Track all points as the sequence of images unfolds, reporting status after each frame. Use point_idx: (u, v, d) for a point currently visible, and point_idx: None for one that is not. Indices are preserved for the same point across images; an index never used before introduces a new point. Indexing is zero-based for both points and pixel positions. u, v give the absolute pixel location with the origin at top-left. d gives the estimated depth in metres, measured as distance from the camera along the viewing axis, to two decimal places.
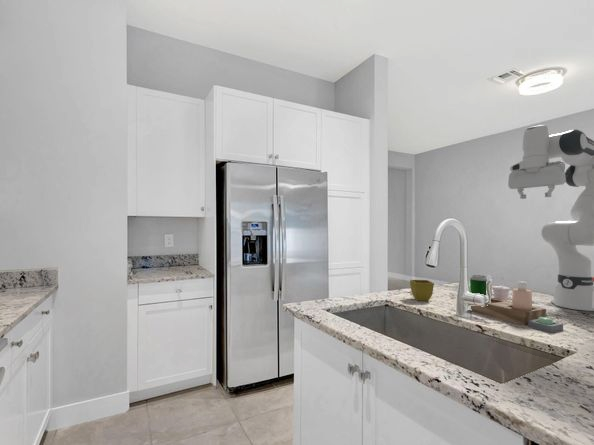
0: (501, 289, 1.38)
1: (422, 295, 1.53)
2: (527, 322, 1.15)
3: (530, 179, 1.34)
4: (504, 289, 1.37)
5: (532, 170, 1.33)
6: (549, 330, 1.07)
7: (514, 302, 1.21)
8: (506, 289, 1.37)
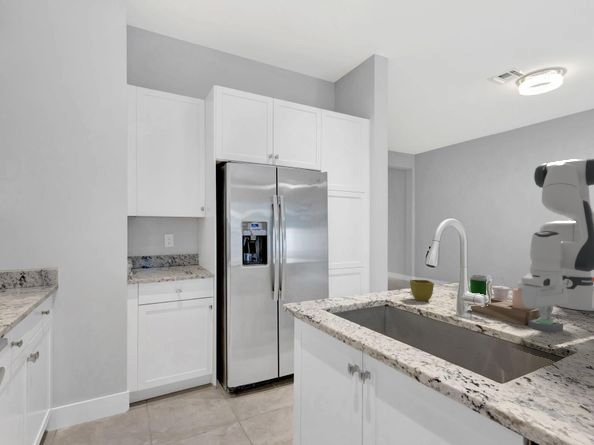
0: (501, 289, 1.38)
1: (422, 295, 1.53)
2: (527, 322, 1.15)
3: (550, 298, 1.09)
4: (504, 289, 1.37)
5: (557, 288, 1.09)
6: (549, 330, 1.07)
7: (514, 302, 1.21)
8: (506, 289, 1.37)
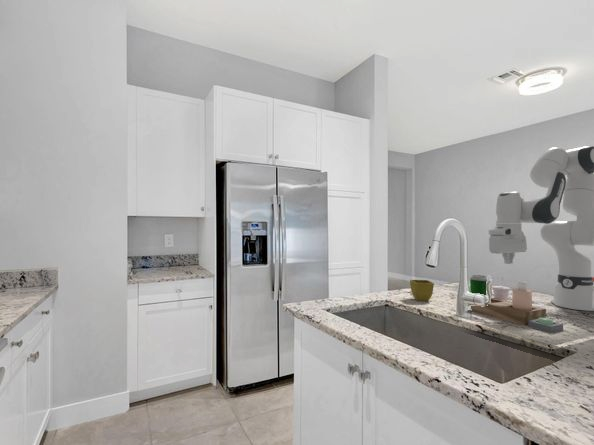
0: (501, 289, 1.38)
1: (422, 295, 1.53)
2: (527, 322, 1.15)
3: (511, 245, 1.33)
4: (504, 289, 1.37)
5: (517, 237, 1.33)
6: (549, 330, 1.07)
7: (514, 302, 1.21)
8: (506, 289, 1.37)
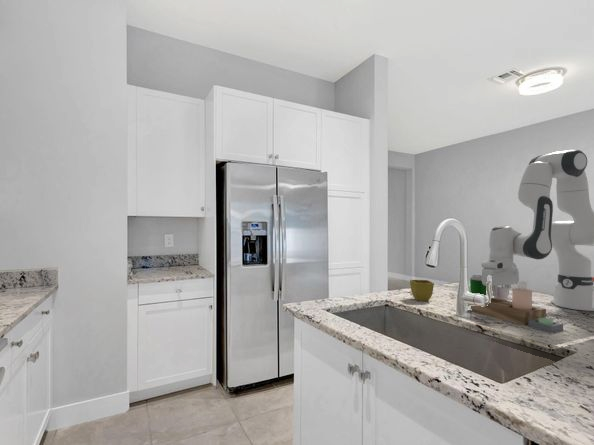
0: (501, 289, 1.38)
1: (422, 295, 1.53)
2: (527, 322, 1.15)
3: (503, 278, 1.38)
4: (504, 289, 1.37)
5: (509, 270, 1.38)
6: (549, 330, 1.07)
7: (514, 302, 1.21)
8: (506, 289, 1.37)
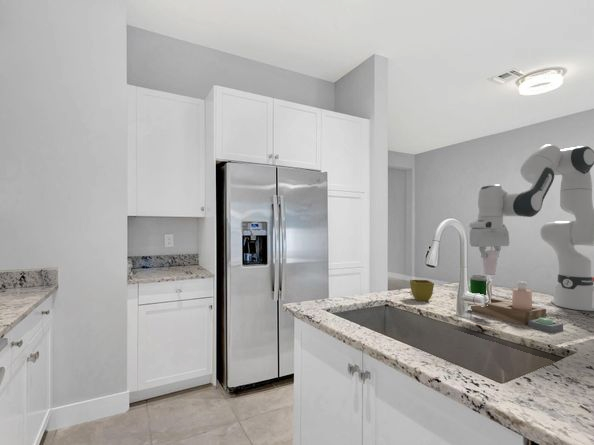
0: (490, 252, 1.30)
1: (422, 295, 1.53)
2: (527, 322, 1.15)
3: (492, 239, 1.31)
4: (493, 252, 1.30)
5: (498, 230, 1.31)
6: (549, 330, 1.07)
7: (514, 302, 1.21)
8: (495, 252, 1.30)
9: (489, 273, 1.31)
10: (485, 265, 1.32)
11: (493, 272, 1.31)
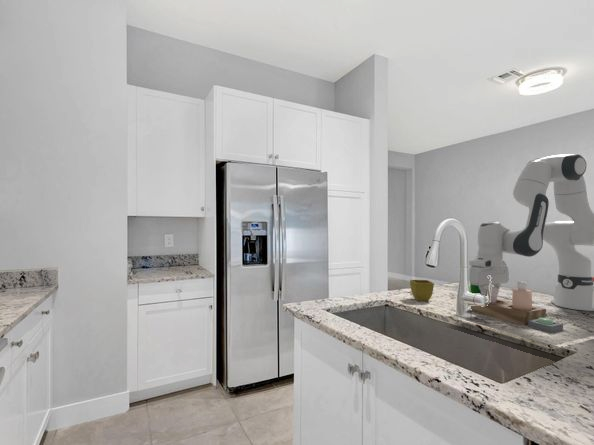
0: None
1: (422, 295, 1.53)
2: (527, 322, 1.15)
3: (492, 277, 1.31)
4: (492, 290, 1.30)
5: (498, 268, 1.30)
6: (549, 330, 1.07)
7: (514, 302, 1.21)
8: (495, 290, 1.30)
9: None
10: None
11: None
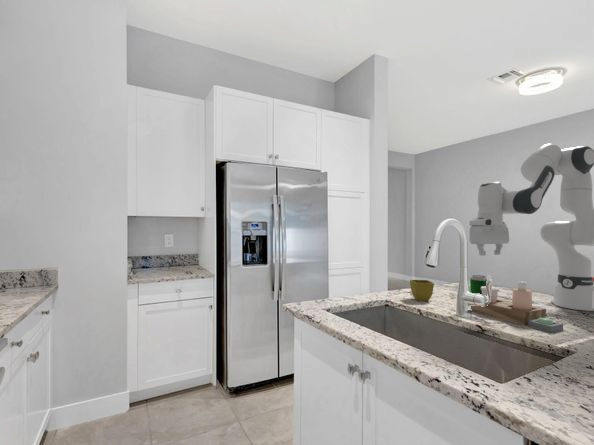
0: None
1: (422, 295, 1.53)
2: (527, 322, 1.15)
3: (492, 236, 1.31)
4: (492, 290, 1.30)
5: (498, 228, 1.31)
6: (549, 330, 1.07)
7: (514, 302, 1.21)
8: (495, 290, 1.30)
9: None
10: None
11: None
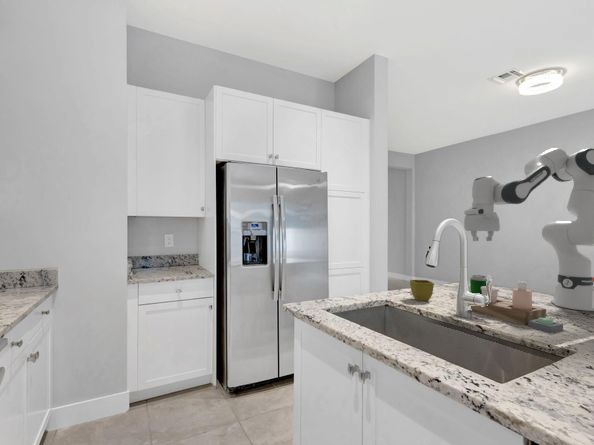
0: None
1: (422, 295, 1.53)
2: (527, 322, 1.15)
3: (484, 224, 1.48)
4: (493, 290, 1.30)
5: (489, 217, 1.48)
6: (549, 330, 1.07)
7: (514, 302, 1.21)
8: (495, 290, 1.30)
9: None
10: None
11: None
